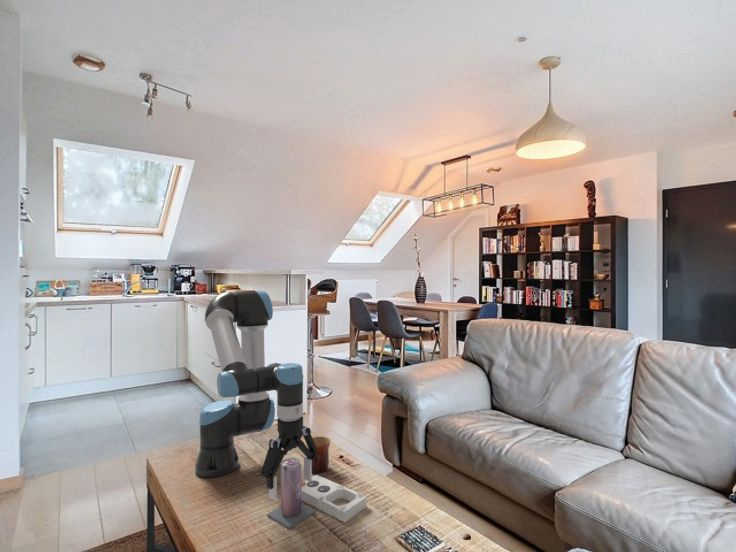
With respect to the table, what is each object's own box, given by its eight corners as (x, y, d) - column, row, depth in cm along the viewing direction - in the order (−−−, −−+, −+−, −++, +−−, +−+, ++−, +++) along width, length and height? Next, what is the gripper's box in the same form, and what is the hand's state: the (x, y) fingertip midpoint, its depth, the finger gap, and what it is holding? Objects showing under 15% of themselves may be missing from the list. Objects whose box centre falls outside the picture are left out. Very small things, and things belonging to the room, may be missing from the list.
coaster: (267, 515, 120) (267, 513, 120) (293, 501, 128) (293, 499, 128) (289, 529, 114) (289, 527, 114) (315, 512, 122) (315, 510, 122)
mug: (311, 462, 154) (311, 435, 154) (333, 464, 152) (333, 437, 152) (299, 478, 142) (299, 449, 142) (323, 480, 140) (323, 451, 140)
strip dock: (277, 488, 135) (277, 477, 135) (301, 475, 144) (301, 465, 144) (343, 523, 116) (343, 510, 116) (367, 505, 125) (367, 494, 125)
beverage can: (294, 504, 125) (293, 455, 125) (305, 512, 121) (305, 462, 121) (277, 512, 121) (276, 462, 121) (288, 521, 117) (287, 468, 116)
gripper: (263, 433, 109) (264, 512, 109) (328, 408, 128) (329, 476, 128) (246, 426, 113) (247, 502, 114) (312, 403, 133) (313, 469, 133)
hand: (291, 488), depth 121 cm, fingers open, 13 cm apart
